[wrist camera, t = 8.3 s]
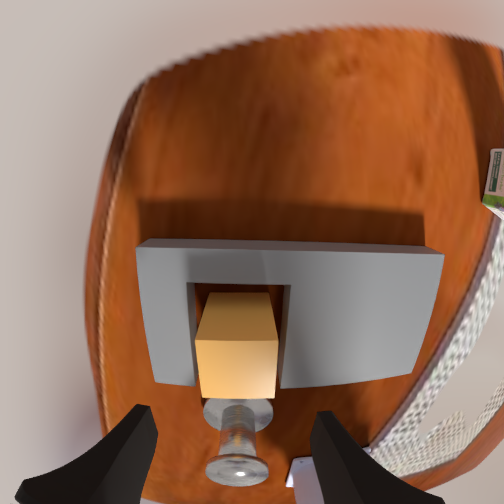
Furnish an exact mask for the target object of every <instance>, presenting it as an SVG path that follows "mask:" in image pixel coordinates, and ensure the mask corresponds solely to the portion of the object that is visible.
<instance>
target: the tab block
mask: <svg viewBox="0 0 504 504" xmlns="http://www.w3.org/2000/svg"><path fill="white" fill-rule="evenodd" d="M195 346H196V355H197V363H198V371H199V378H200V385H201V392H202V398H224V399H264V398H274V397H275V384H276V370H277V356H278V336H277V331H276V326H275V321H274V316H273V311H272V306H271V301H270V296H269V293H209V296H208V299H207V302H206V305H205V308H204V312H203V315H202V318H201V321H200V324H199V328H198V331H197V334H196V338H195Z"/></svg>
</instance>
